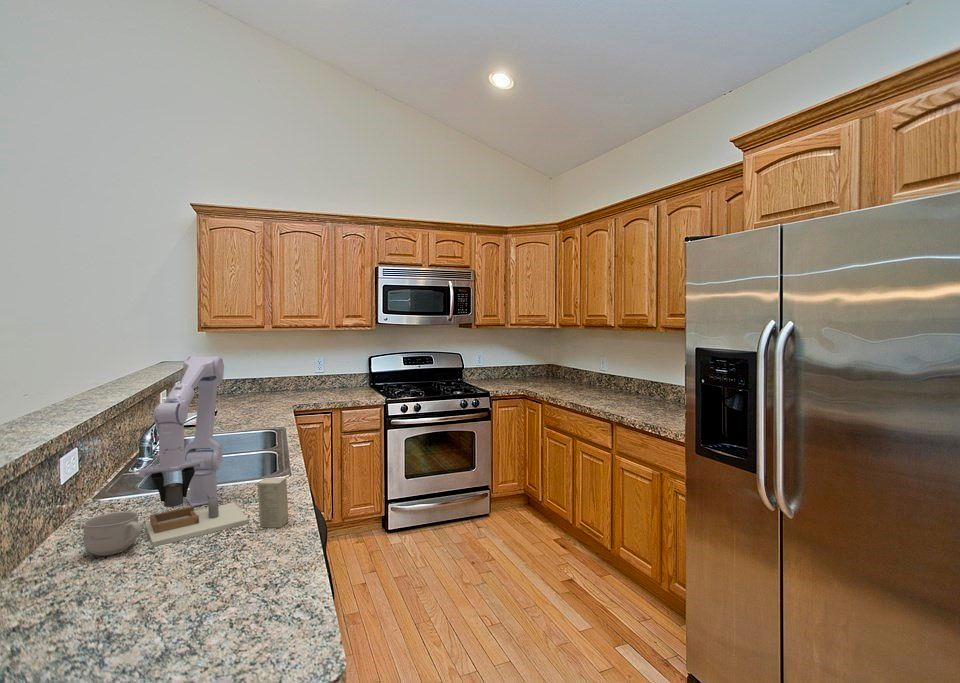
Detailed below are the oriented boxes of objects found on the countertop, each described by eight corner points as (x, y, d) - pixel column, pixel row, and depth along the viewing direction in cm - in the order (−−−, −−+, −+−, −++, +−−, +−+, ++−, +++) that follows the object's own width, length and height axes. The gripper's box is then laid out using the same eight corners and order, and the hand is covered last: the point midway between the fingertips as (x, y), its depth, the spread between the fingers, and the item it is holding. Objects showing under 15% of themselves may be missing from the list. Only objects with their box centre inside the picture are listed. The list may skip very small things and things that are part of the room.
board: (145, 526, 135) (144, 503, 135) (234, 506, 149) (233, 485, 149) (152, 547, 123) (151, 522, 122) (248, 523, 137) (248, 501, 136)
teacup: (74, 554, 119) (73, 521, 119) (124, 536, 129) (123, 506, 128) (106, 568, 113) (105, 532, 112) (156, 548, 122) (155, 515, 122)
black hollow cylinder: (163, 503, 134) (162, 484, 134) (182, 499, 137) (181, 481, 137) (164, 508, 131) (164, 489, 131) (184, 504, 133) (183, 485, 133)
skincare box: (288, 521, 138) (287, 477, 137) (280, 528, 133) (279, 483, 133) (266, 520, 138) (265, 477, 138) (258, 527, 134) (257, 482, 133)
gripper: (140, 455, 126) (142, 509, 126) (205, 446, 135) (207, 496, 135) (137, 450, 131) (139, 501, 132) (200, 441, 140) (202, 489, 141)
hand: (173, 498), depth 134 cm, fingers closed on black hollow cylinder, 4 cm apart
